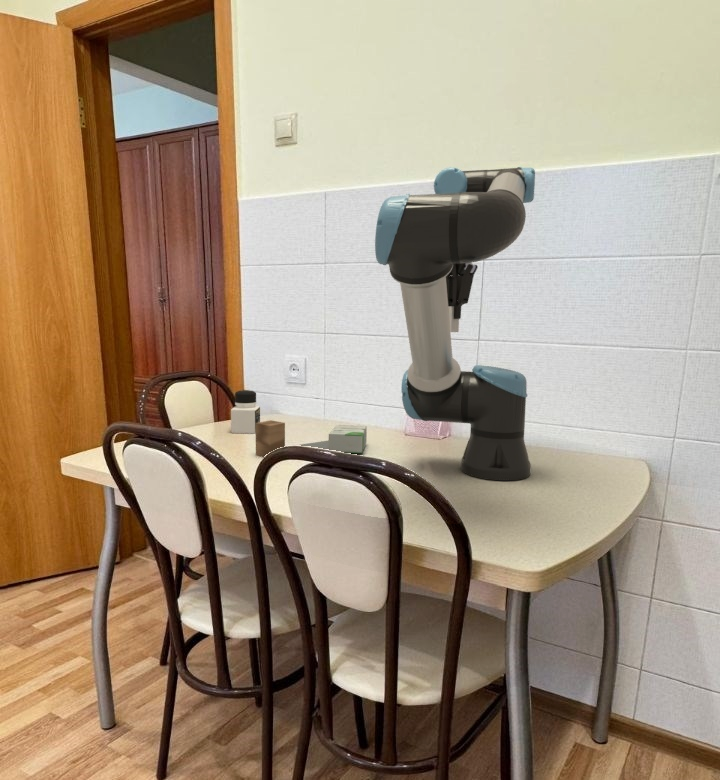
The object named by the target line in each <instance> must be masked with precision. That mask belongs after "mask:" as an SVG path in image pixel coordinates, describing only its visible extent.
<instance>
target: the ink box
mask: <svg viewBox="0 0 720 780" xmlns="http://www.w3.org/2000/svg"><path fill="white" fill-rule="evenodd" d="M367 427H368V426H367V425H359V424H358V425H354V424H336V425H335V426H333V428H331V430H330V432H329V433H328V440H329V450H336V451H341V452H347V453H346V454H349V453H350V454H362V453H363V452H364V450H365V447H366V444H367V433H368V432H367V429H368V428H367Z"/></svg>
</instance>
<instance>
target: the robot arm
mask: <svg viewBox="0 0 720 780" xmlns="http://www.w3.org/2000/svg"><path fill="white" fill-rule="evenodd" d="M535 183H536V170H535V169H534V168H533V167H522V166H518V167H511V168H498V169H477V170H475V169H473V170H462V169H461V170H460V169H459V168H457V167H451V166H450V167H446V168H444V169H442V170H441V171H439V172H438V173H437V175H436V176H435V179H434V181H433V190H434V193H431V194H410V193H406V195H398V196H397V195H396V196H389V197H388V198H386V199H384V201H383V202H382V204H381V206H380V209H379V212H378V216H377V220H376V228H375V235H374V237H375V239H374V252H375V258H376V261H377V263H378V264H379V265H383V266H387V265H388V267H389V272H390V276H391V278H392V279H393V280H394V281H396V283H399V284H400V290H401V291H400V292H401V298H402V304H403V309H404V310H403V311H404V317H405V323H406V329H407V337H408V342H409V348H410V349H409V350H410V354H411V361H412V362H411V363H410V365H409V366H408V369H406V370H405V371H404V373H403V375H402V379H401V394H402V396H401V400H402V406H403V408H404V411H405V413H406V414H407V416H408V417H409V418H411V419H413V420H420V421H423V422H441V423H442V422H443V423H456V424H457V423H460V424H470V434H469V439H468V441H467V444H466V446H465V450H464V451H463V456H462V457H461V462H460V470H461V471H462V472H463V473H464V474H466V475H469V476H471V477H474V478H477V479H478V478H479V479H485V480H492V481H517V480H524V479H526V478H529V477H530V476H531V470H532V469H531V468H532V467H531V465H532V463H531V462H530V459H529V455H528V449H527V446H526V442H525V426H526V425H525V424H526V421H525V420H526V402H527V397H528V393H527V392H528V391H527V387H528V385H527V378H526V376H525V375H524V374H523V373H521V372H518V371H515V370H513V369H508V368H502V367H497V366H489V365H482V364H480V365H479V364H478V365H477V364H476V365H474V366H473V368H472V370H471V371H467V370H465V371H463V370H461V366H460V364H459V362H458V361H457V360H456V359H455V358H454V357H453V349H452V336H451V333H459V331H460V330H459V328H460V327H459V325H460V320H461V317H462V307H463V305H467V304H468V303H469V298H470V295H471V290H472V286H473V281H474V276H475V273H476V271H477V270H478V265H477V264H473V263H477V262H480V261H484V260H487V259H489V258H491V257H494V256H496V255H497V254H499V253H501V252H502V251H504V250H505V249H507V248H508V247H510V246H511V245H512V244H513V243H514V242H516V240H517V239H518V237H519V236H520V235H521V233H522V232H523V230H524V226H525V223H526V217H527V216H526V208H525V205H524V204H527V203H531V202H533V201H534V198H535V185H536V184H535Z"/></svg>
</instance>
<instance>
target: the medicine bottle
mask: <svg viewBox="0 0 720 780" xmlns="http://www.w3.org/2000/svg"><path fill="white" fill-rule="evenodd" d="M234 399H235V400H234V405H235V406H233V407H232V408H231V409H230V432H231V434H244V433H252V434H251V435H254V434H255V435H256V423H259V422H261V406H260V405H257V392H255V391H254V390H250V389H249V390H248V389H247V390H246V389H243V390H237V391H236V392H235V393H234Z"/></svg>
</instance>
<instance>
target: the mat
mask: <svg viewBox="0 0 720 780" xmlns="http://www.w3.org/2000/svg"><path fill="white" fill-rule="evenodd" d="M300 445H301V446H311V447H318V448H323V449H329V439H328V440H323V441H322V440H321V441H316V442H309V443H302V444H300Z"/></svg>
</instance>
